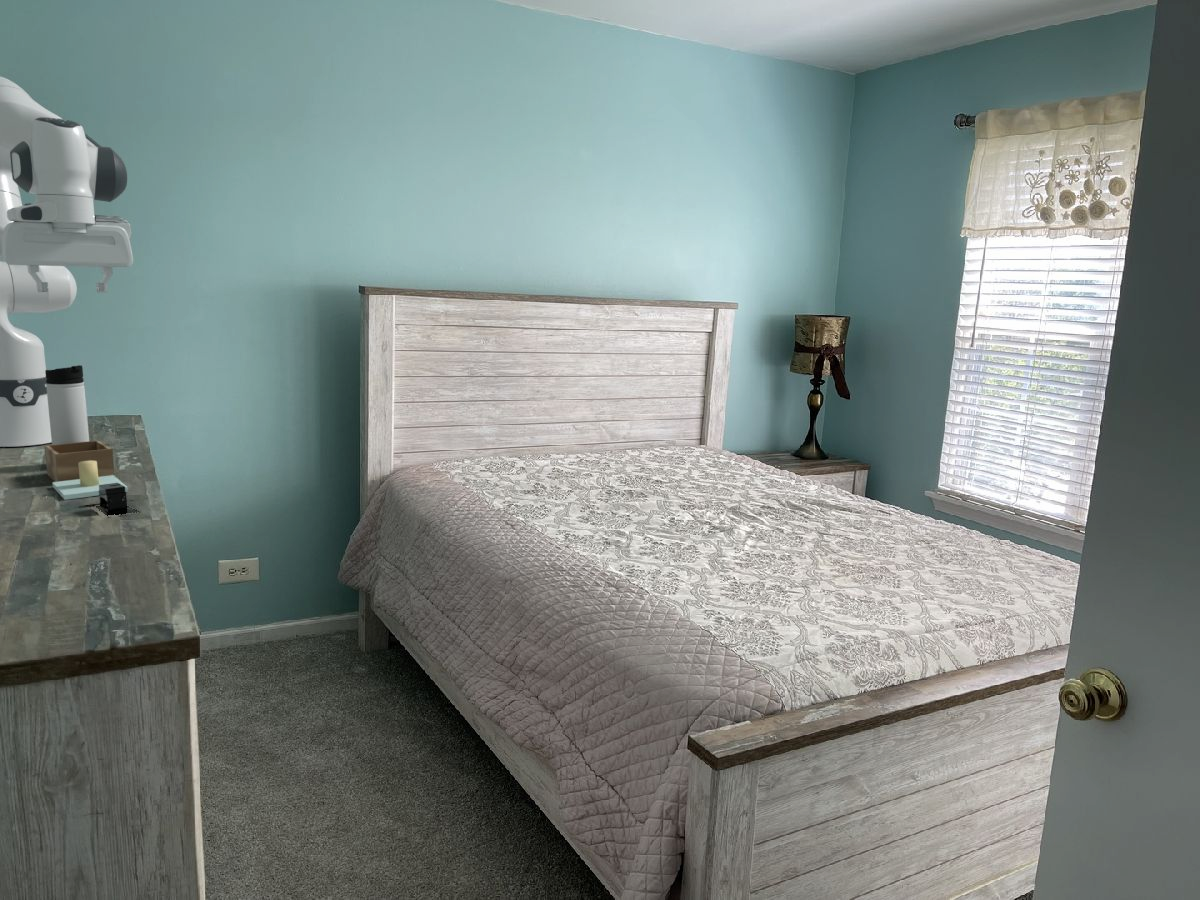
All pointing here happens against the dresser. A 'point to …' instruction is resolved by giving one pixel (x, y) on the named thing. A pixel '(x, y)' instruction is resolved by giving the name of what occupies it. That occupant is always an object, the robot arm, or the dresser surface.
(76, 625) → the dresser surface
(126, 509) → the black stepped block
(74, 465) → the box
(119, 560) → the dresser surface
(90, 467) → the lid
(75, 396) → the travel mug
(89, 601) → the dresser surface
